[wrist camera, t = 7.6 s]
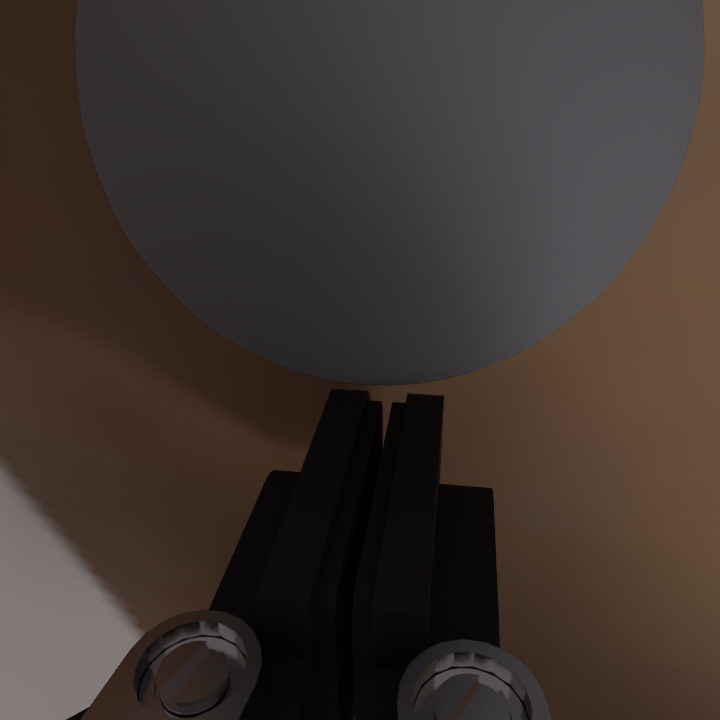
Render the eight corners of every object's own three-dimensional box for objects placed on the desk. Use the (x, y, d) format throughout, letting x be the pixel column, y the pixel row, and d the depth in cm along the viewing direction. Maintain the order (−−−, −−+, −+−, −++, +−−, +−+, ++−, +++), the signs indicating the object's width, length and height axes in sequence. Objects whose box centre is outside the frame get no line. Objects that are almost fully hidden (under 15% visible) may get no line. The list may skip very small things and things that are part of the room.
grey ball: (1117, -389, 2) (707, -316, 6) (-332, -275, 3) (142, -276, 7) (659, 529, 6) (589, 209, 10) (91, 478, 7) (238, 199, 11)
